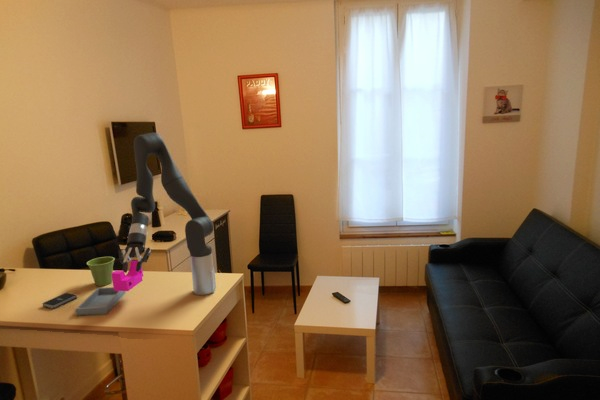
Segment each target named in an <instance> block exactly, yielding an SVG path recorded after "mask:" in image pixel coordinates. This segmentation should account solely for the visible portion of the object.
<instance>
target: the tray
mask: <svg viewBox="0 0 600 400" xmlns="http://www.w3.org/2000/svg"><path fill="white" fill-rule="evenodd" d="M126 292H127V291H114V287H113V286H111V287H97V289H95V290H94V291H92V293H91V294H90V295H89V296H88V297H86V299H84V301H83V302H81V303H80V304H79V305H78V306H77V307H76V308H75V315H76V317H83V316H85V317H86V316H100V315H101V316H102V315H105V316H106V315H108V314H109V312H110V311H111V310H112V309H113V308H114V307H115V306H116V305H117V303H118V302H119V301H120V300H121V299H122V298H123V297H124V295H125V294H126Z"/></svg>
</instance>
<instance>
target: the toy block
mask: <svg viewBox="0 0 600 400" xmlns="http://www.w3.org/2000/svg"><path fill="white" fill-rule="evenodd" d="M137 262H138V259H131V260H130V261H129V263H130V264H129V270H128V271H127V273H125V272H124V271H123V270H113V273H111V275H112V287H114V291H125V292H129V291H130V290H131V289H134V288H135V287H136V286H137V285H139V284H140V283H142V282H143V277H144V272H143V265H142V266H141V270H140V271H139V272H137V271H136V266H137Z"/></svg>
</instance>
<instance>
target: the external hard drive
mask: <svg viewBox="0 0 600 400" xmlns="http://www.w3.org/2000/svg"><path fill="white" fill-rule="evenodd" d="M77 298H78V297H77V294H74V293H69V292H64V293H62V294H60V295H58V296H56V297H53V298H51V299H49V300H46V301H44V302H42V307H43V308H47V309H51V310H56V309H57V308H60V307H62V306H65V305H66V304H69V303H71V302H72V301H75V300H77Z"/></svg>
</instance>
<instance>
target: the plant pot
mask: <svg viewBox="0 0 600 400" xmlns="http://www.w3.org/2000/svg"><path fill="white" fill-rule="evenodd" d="M115 259H116V257H113V256H101V257H96V258H92V259H90V260H88V261H87V262H86V265H87V266H88V268H89V270H90V272H91V275H92V278H93V282H94V284H95V286H96V287H97V286H100V287H103V286H108V285H110V284H111V283H113V281H112V275H111V273H113V272H114V265H115V264H114V263H115Z"/></svg>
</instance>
